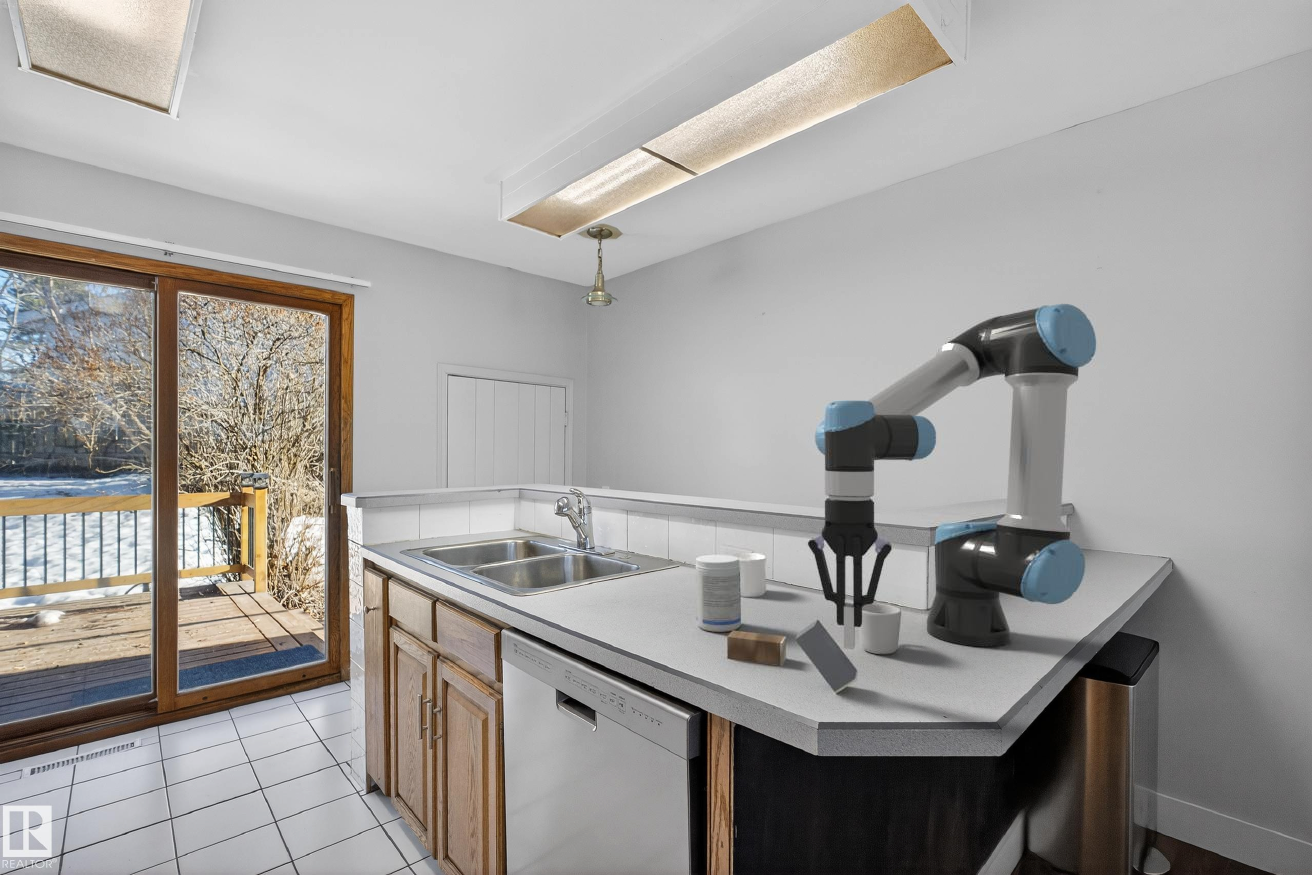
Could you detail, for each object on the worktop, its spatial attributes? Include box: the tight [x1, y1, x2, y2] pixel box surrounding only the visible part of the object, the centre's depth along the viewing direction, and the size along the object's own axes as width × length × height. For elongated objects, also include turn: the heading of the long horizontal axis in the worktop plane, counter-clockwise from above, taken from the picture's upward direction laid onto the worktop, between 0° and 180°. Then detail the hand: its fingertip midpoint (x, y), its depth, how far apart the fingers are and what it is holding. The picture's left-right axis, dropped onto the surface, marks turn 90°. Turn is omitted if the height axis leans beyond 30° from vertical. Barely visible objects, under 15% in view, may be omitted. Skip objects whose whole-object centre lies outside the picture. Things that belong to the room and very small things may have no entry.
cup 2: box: [858, 602, 902, 655], centre depth 117 cm, size 11×8×8 cm
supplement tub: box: [695, 554, 742, 633], centre depth 131 cm, size 10×10×15 cm
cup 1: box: [731, 552, 767, 598], centre depth 160 cm, size 10×10×10 cm
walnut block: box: [726, 630, 787, 667], centre depth 112 cm, size 4×4×10 cm
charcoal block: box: [794, 618, 859, 694], centre depth 99 cm, size 4×4×10 cm
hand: (849, 645), depth 97 cm, fingers closed
